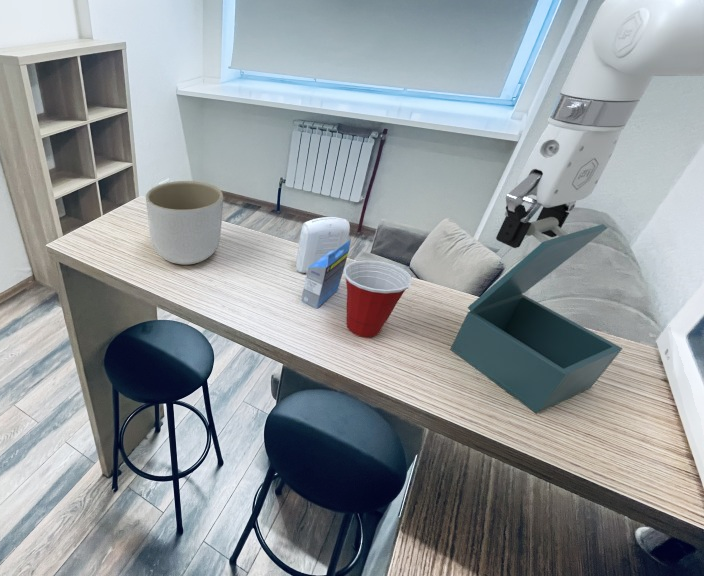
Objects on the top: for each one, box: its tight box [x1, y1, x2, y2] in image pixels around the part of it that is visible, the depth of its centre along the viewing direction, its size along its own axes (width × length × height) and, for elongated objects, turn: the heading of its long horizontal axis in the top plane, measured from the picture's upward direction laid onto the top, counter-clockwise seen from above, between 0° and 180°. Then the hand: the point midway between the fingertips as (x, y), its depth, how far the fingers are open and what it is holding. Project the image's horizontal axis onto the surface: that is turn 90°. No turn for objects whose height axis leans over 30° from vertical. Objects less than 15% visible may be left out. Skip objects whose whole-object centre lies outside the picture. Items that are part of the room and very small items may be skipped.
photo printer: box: [295, 216, 351, 274], centre depth 88 cm, size 10×4×12 cm, turn 98°
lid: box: [467, 217, 609, 312], centre depth 62 cm, size 15×13×5 cm
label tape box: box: [301, 238, 352, 309], centre depth 80 cm, size 9×4×12 cm, turn 136°
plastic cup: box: [343, 259, 413, 339], centre depth 72 cm, size 11×11×12 cm
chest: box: [450, 293, 623, 414], centre depth 64 cm, size 15×13×8 cm
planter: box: [145, 180, 224, 266], centre depth 94 cm, size 17×17×15 cm
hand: (525, 237), depth 61 cm, fingers open, 7 cm apart
